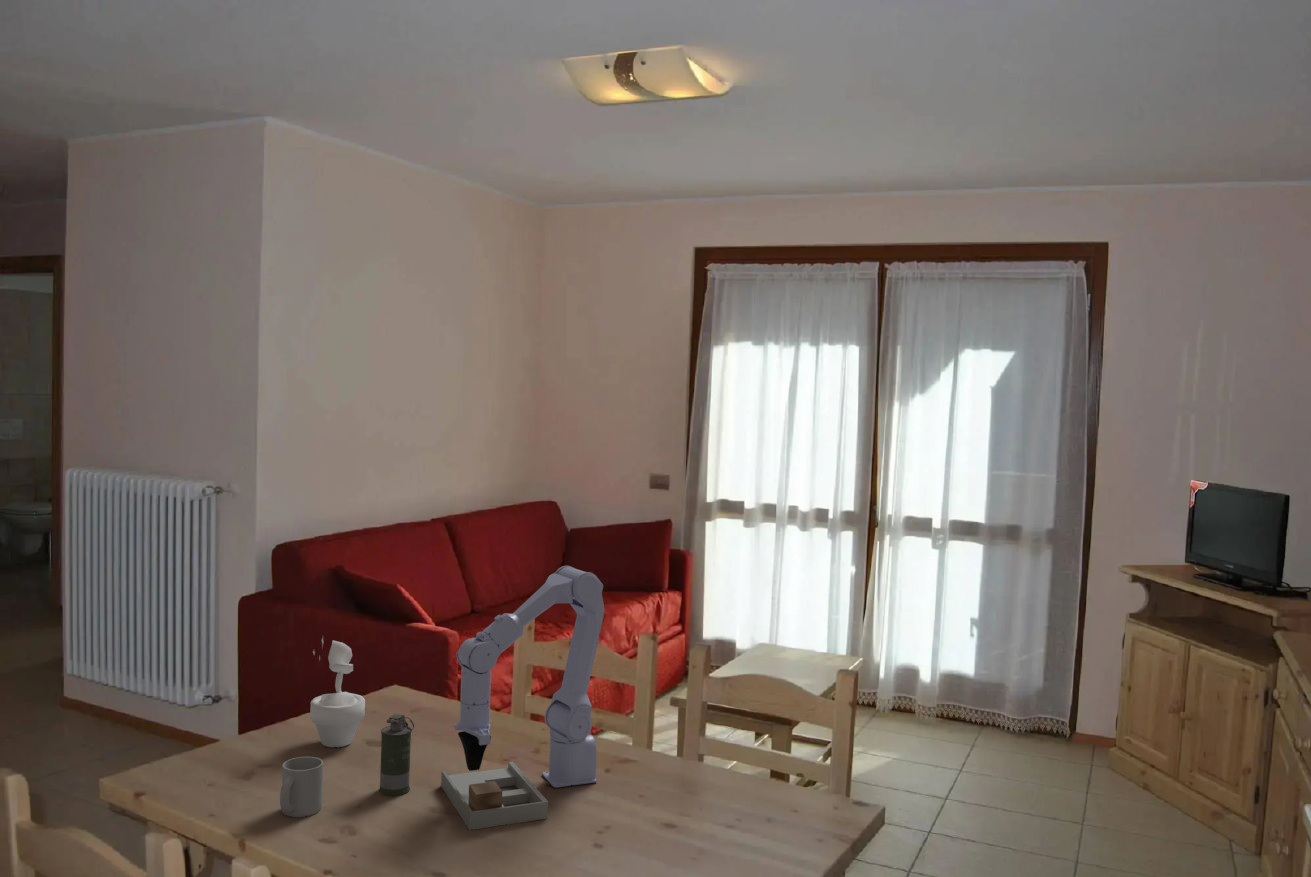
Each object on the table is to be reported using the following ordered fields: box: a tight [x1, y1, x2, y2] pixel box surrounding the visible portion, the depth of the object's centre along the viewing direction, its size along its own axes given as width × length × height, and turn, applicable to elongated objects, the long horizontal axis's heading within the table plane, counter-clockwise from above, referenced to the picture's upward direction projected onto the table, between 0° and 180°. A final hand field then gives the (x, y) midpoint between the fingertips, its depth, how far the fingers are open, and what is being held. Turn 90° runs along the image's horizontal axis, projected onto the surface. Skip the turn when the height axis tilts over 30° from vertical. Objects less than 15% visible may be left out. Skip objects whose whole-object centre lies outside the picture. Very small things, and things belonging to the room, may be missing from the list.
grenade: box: [378, 713, 415, 797], centre depth 203 cm, size 6×6×15 cm
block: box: [468, 781, 502, 811], centre depth 191 cm, size 5×5×4 cm
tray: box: [440, 761, 549, 831], centre depth 200 cm, size 15×22×3 cm
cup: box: [279, 756, 324, 818], centre depth 191 cm, size 7×10×9 cm
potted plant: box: [309, 636, 366, 748], centre depth 227 cm, size 13×12×25 cm
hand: (473, 769), depth 200 cm, fingers closed
